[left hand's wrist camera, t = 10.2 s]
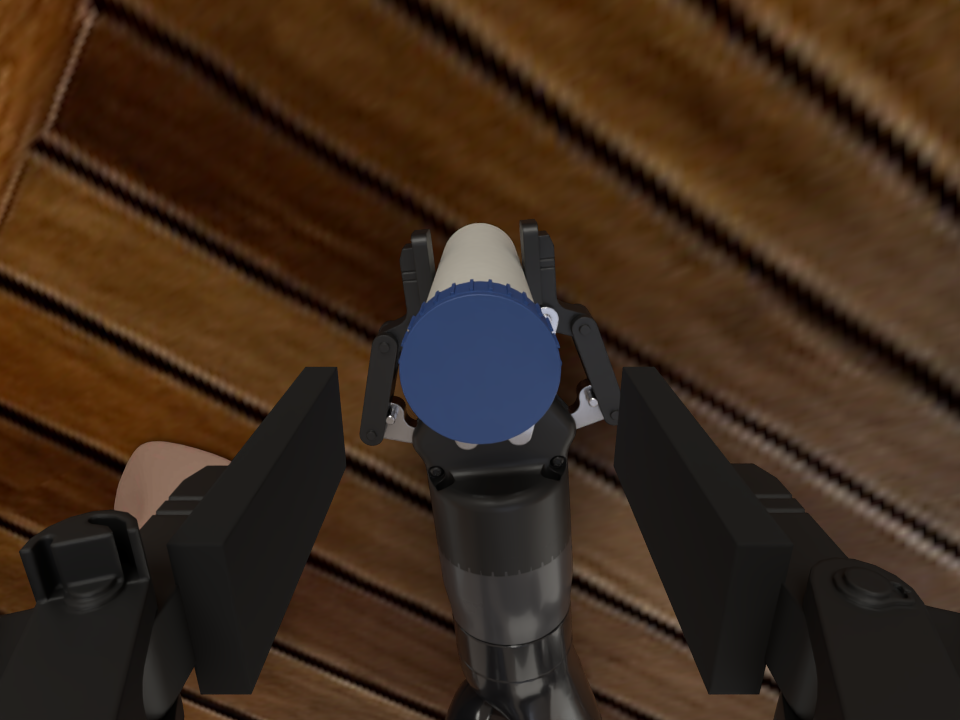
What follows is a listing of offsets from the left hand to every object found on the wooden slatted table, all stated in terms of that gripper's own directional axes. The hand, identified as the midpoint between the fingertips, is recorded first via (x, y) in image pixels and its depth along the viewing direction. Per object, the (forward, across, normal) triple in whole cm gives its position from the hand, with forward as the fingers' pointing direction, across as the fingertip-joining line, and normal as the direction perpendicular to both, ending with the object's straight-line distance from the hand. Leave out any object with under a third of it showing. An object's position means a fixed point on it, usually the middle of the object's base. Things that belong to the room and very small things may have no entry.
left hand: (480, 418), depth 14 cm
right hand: (+14, 0, -3) cm, 14 cm away
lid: (+3, 0, 0) cm, 3 cm away
